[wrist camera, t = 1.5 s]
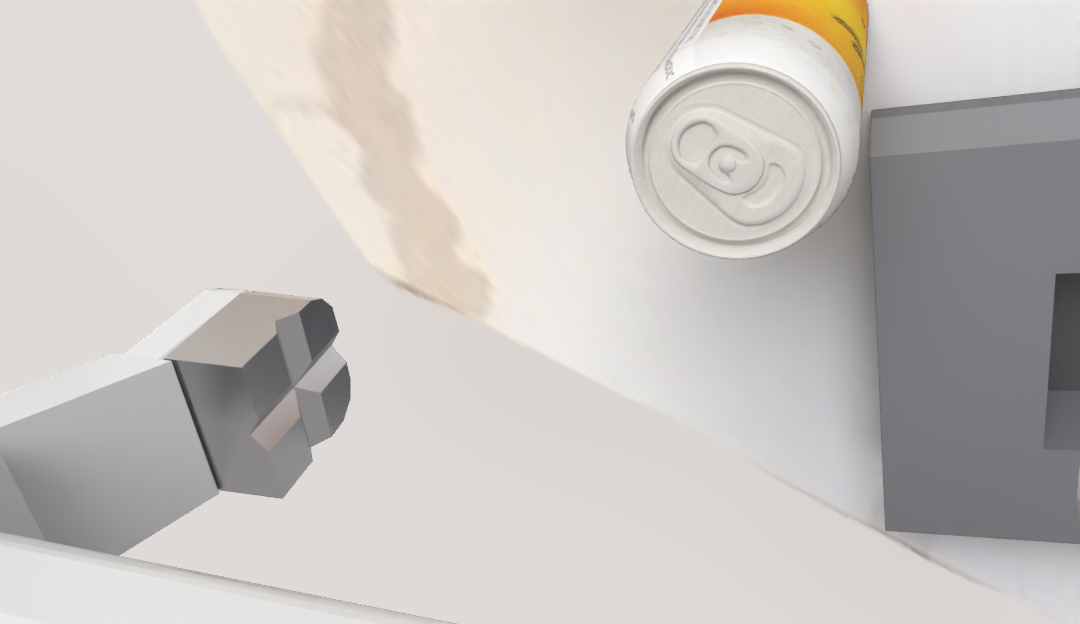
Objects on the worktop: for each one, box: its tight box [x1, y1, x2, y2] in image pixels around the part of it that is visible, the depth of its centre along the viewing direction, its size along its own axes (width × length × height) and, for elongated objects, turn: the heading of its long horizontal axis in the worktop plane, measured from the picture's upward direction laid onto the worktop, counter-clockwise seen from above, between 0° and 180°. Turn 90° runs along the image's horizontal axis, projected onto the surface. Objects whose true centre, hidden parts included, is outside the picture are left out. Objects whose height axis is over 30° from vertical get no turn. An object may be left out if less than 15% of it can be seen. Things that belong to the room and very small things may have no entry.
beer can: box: [626, 0, 869, 259], centre depth 28 cm, size 6×6×15 cm
